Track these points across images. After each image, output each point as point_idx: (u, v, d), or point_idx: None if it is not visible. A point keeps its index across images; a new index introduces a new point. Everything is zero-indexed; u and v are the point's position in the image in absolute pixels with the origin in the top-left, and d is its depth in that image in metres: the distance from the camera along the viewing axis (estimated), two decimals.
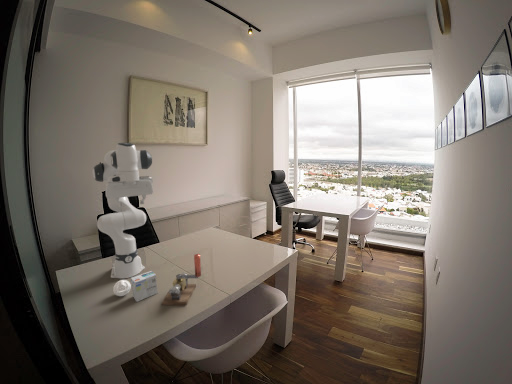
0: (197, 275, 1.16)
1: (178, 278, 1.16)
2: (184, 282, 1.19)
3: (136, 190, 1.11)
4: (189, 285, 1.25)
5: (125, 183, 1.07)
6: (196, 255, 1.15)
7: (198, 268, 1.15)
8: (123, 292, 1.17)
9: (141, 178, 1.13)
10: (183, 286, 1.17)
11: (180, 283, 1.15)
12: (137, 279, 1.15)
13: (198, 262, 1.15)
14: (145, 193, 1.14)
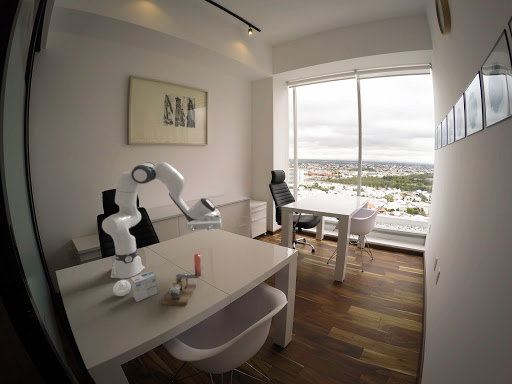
0: (197, 275, 1.16)
1: (178, 278, 1.16)
2: (184, 282, 1.19)
3: None
4: (189, 285, 1.25)
5: None
6: (196, 255, 1.15)
7: (198, 268, 1.15)
8: (123, 292, 1.17)
9: None
10: (183, 286, 1.17)
11: (180, 283, 1.15)
12: (137, 279, 1.15)
13: (198, 262, 1.15)
14: None
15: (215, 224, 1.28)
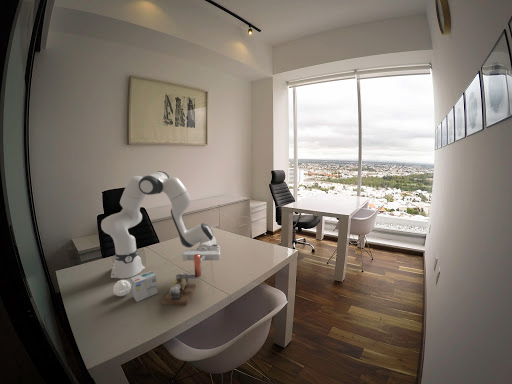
0: (197, 275, 1.15)
1: (178, 278, 1.16)
2: (184, 282, 1.19)
3: None
4: (189, 285, 1.25)
5: None
6: (196, 255, 1.15)
7: (198, 268, 1.15)
8: (123, 292, 1.17)
9: None
10: (183, 286, 1.17)
11: (180, 283, 1.15)
12: (137, 279, 1.15)
13: (198, 262, 1.14)
14: None
15: (214, 256, 1.21)
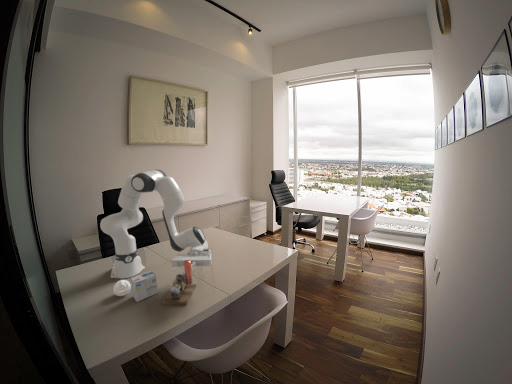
0: (185, 282, 1.09)
1: (176, 277, 1.17)
2: None
3: None
4: (189, 285, 1.25)
5: None
6: (186, 261, 1.09)
7: (186, 275, 1.08)
8: (123, 292, 1.17)
9: None
10: (183, 286, 1.17)
11: (180, 283, 1.15)
12: (137, 279, 1.15)
13: (186, 269, 1.08)
14: None
15: (205, 261, 1.15)
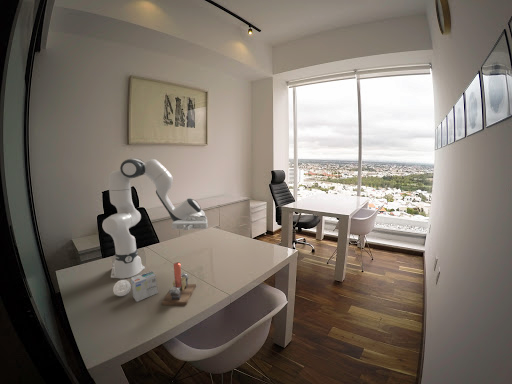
0: (175, 284, 1.07)
1: None
2: (184, 282, 1.19)
3: None
4: (189, 285, 1.25)
5: None
6: (176, 263, 1.06)
7: (175, 278, 1.06)
8: (123, 292, 1.17)
9: None
10: (183, 286, 1.17)
11: None
12: (137, 279, 1.15)
13: (174, 271, 1.06)
14: None
15: (201, 224, 1.30)
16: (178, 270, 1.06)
